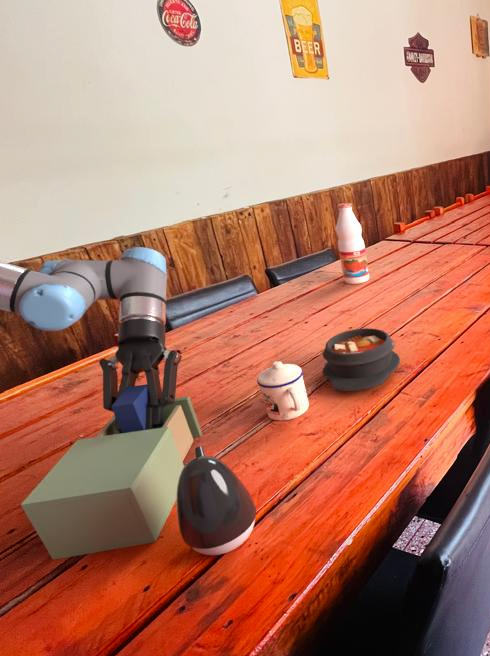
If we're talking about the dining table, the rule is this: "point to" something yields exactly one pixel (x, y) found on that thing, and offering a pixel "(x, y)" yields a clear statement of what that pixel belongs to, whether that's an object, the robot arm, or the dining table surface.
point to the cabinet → (107, 493)
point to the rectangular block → (132, 408)
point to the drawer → (172, 424)
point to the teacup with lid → (283, 391)
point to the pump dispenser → (213, 506)
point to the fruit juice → (351, 246)
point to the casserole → (359, 359)
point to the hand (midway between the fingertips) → (138, 446)
